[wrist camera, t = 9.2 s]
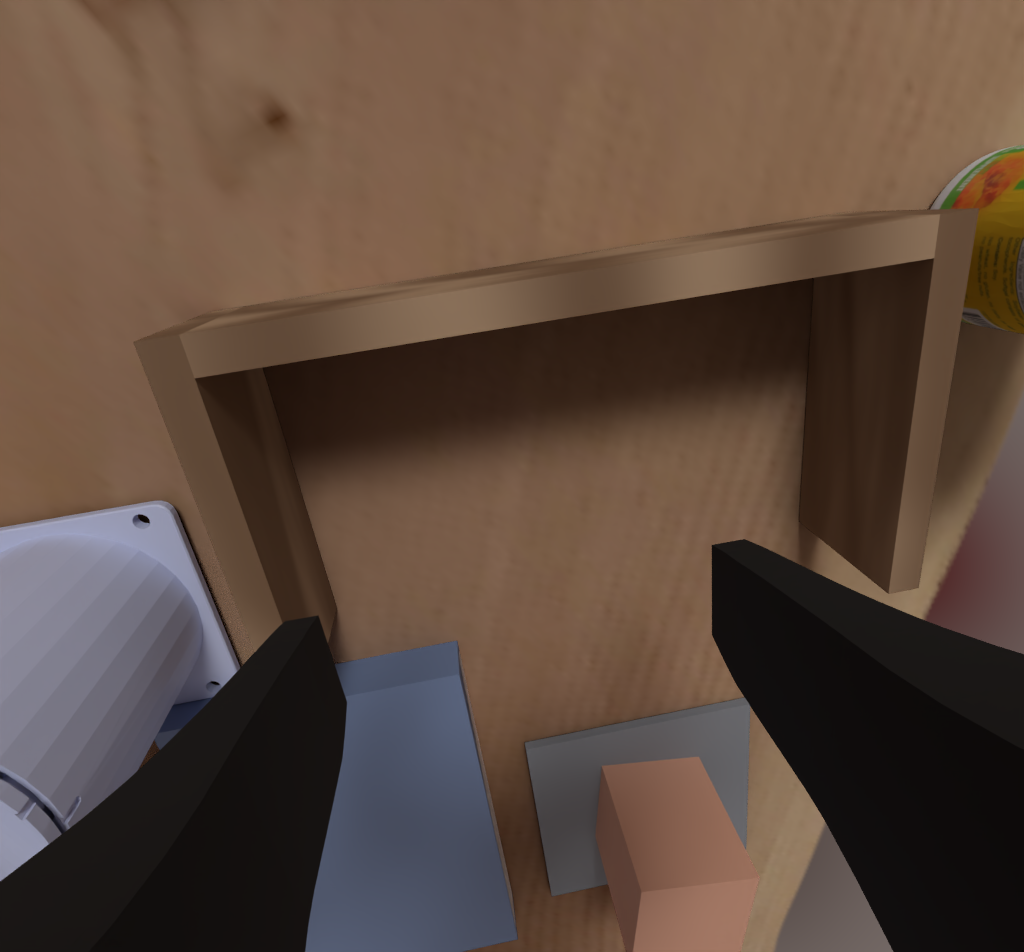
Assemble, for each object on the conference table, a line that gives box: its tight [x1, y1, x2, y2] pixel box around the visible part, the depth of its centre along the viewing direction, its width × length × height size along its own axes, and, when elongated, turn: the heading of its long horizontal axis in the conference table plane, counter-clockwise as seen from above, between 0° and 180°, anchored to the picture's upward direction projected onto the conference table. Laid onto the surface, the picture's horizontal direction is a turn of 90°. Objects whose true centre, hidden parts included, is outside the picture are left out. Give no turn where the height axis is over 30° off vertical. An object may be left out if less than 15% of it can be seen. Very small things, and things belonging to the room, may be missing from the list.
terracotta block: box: [595, 757, 760, 952], centre depth 25 cm, size 4×4×6 cm
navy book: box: [154, 641, 518, 952], centre depth 26 cm, size 16×11×2 cm
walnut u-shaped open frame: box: [133, 208, 979, 653], centre depth 18 cm, size 20×11×5 cm, turn 98°
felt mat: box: [525, 698, 750, 896], centre depth 28 cm, size 10×10×1 cm
